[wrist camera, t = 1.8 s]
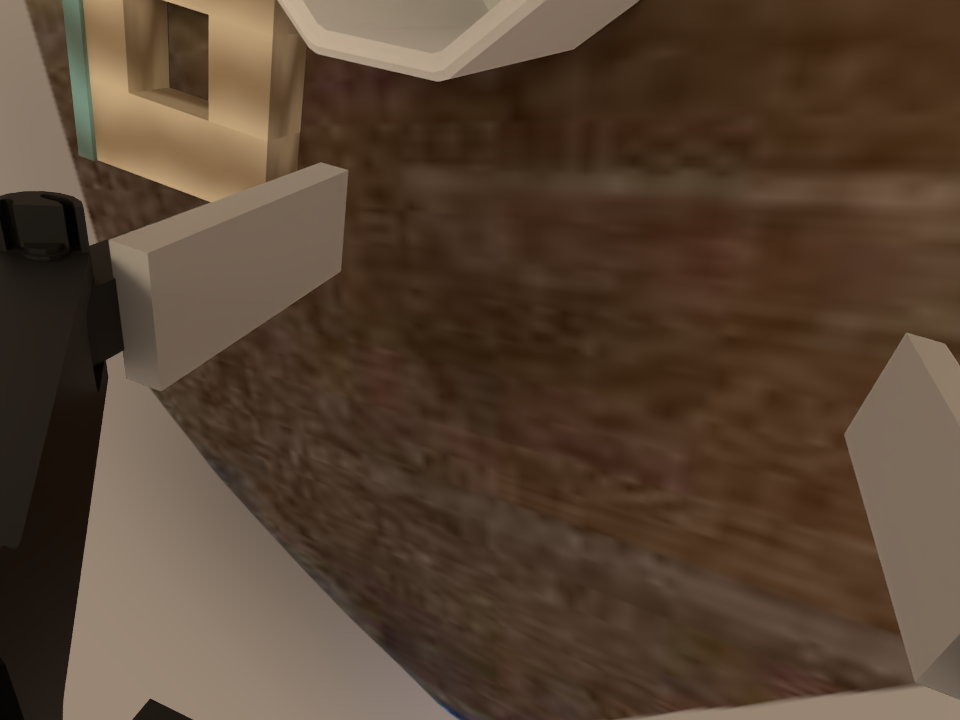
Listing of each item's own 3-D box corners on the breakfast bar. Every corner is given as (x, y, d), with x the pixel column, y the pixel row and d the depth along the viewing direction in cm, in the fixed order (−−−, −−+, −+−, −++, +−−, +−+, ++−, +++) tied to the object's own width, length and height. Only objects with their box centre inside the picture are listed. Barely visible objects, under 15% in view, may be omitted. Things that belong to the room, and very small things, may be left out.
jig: (104, -128, 37) (47, -141, 34) (315, -68, 35) (274, -76, 32) (123, 145, 46) (78, 155, 43) (294, 207, 44) (260, 222, 40)
